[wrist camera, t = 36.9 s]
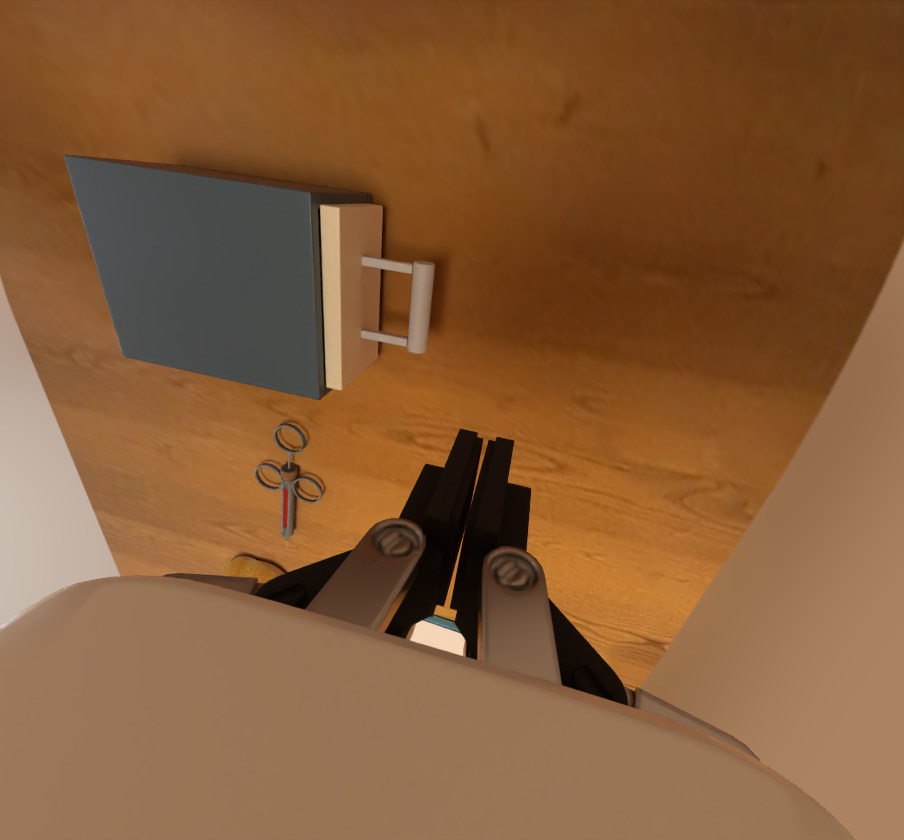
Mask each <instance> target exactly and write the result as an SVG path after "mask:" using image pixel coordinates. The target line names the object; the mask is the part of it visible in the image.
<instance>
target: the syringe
mask: <svg viewBox="0 0 904 840" xmlns="http://www.w3.org/2000/svg"><path fill="white" fill-rule="evenodd" d="M281 427H288V428H291V429H293V430H294V431H295V432H297V433H298V435H299V436H300V437H301V439H302V442H303V445H302V449H301V450H297V451H295V450H290V449H288V448H286V447H285V446H284V445H282V444H281V442H280V441H279V439H278V435H277V431H278V429H279V428H281ZM273 435H274V440H275V442H276V444H277V446H278V447H279V448H280V449H282V450H283V451H285V452H287V453H288V464H284V465H283V466H282V467H281V470H280V469H279V468H277V467H276V466H274V465H272V464H269V463H263V464H261V465H259V466H258V467H257V468H256V469H255V471H254V473H255V478H256V479H257V481H258V483H259V484H260V485H262V486H263V487H264V488H266V489H269V490H273V491H275V490H279V489H280V488H281V487H282V514H281V535H282V536H283V537H285V538H286V540H287V541H288V539H289V537H290V536H292V535H293V530H294V505H295V495H296V496H297V497H298V498H299V499H300V500H302V501H304V502H306V503H311V504H312V503H317V502H318V501H319V500H320V499H321V497H322V495H323V490H322V487H321V486H320V485H319V483H318V482H317V481H315V480H314V479H312V478H310V477H307V476H301V477H299V478H297V474H298V471H297V466H296V465H294V464H290V454H298V453H300V452H301V451H302V450H303V449H304V448H305V446H306V442H307V441H306V438H305V435H304V434H303V433H302V431H301V430H300V429H299V428H297V427H296V426H294V425H292V424H287V423H286V424H281V425H280V426H278V427H277V428H276V429H275V431H274V433H273ZM260 467H269V468H271V469H273V470H274V471H275V472H277V474H278V475H279V476H280V478H281V486H280V487H273V486H270V485H268V484H266V483H265V482H263V481H262V480H261V478H260V476H259V473H258V470H259V468H260ZM299 480H307V481H309V482H311V483H313V484H314V485H315V486H316V488H317V489H318V491H319V493H320V496H319V498H318V499H316V500H311V499H307V498H305V497H303V496H302V495H301V494H299V492H298V490H297V489H296V482H297V481H299Z"/></svg>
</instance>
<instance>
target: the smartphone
mask: <svg viewBox="0 0 904 840" xmlns="http://www.w3.org/2000/svg"><path fill="white" fill-rule="evenodd" d="M410 641H414V642H417V643H420V644H424V645H427V646H431V647H434V648H437V649H441V650H444V651H448V652H451V653H454V654H458V655H461V656H463V647H464V643H465V639H464V637H463V636H462V634H461V633H460V631H459V630H458V628H457V627H456V625H455V622H452V621H449V620H446V619H443V618H440V617H437V616H434V615H433V617H428V618H426V619H424V620H422V621H420V622H418V623H416V626H415V629H414V632H413V635H412V637H411V639H410Z"/></svg>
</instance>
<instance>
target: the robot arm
mask: <svg viewBox="0 0 904 840" xmlns="http://www.w3.org/2000/svg"><path fill="white" fill-rule="evenodd" d="M477 434H478V432H473V431H469V430H464V429H460V430H459V433H458V435H457V438H456V440H455V442H454V445H453V447H452V450H451V452H450V455H449V457H448V460H447V462H446V464H445V467H444V468H443V467H439V466H434V465H430V464H425V466H424V467H423V470H422V472H421V474H420V476H419V478H418V480H417V482H416V484H415V486H414V488H413V490H412V492H411V494H410V496H409V498H408V500H407V502H406V504H405V507H404V509H403V511H402V513H401V515H400V517H399V518H391V519H386V520H383V521H380V522H378V523H376V524H375V525H374V526H373V527H372V528H370V529H369V531H368V532H367V533H366V534H365V536H364V537H363V538H362V539H361V541H360V542H359V543H358V544H357V546H356V547H355V548H354V549H353V550H350V551H347V552H344V553H341V554H339V555H336V556H333V557H330V558H327V559H325V560H322V561H319V562H316V563H313V564H310V565H308V566H305V567H302V568H299V569H296V570H294V571H291V572H288V573H285V574H282V575H280V576H277V577H275V578H273V579H271V580H269V581H268V582H266V583H259V582H258V578H250V577H234V576H217V575H200V574H183V573H176V574H166V575H163V576H143V575H134V576H120V577H108V578H101V579H95V580H90V581H85V582H81V583H77V584H74V585H71V586H68V587H65V588H63V589H60V590H58V591H56V592H54V593H52V594H50V595H48V596H46V597H45V598H43V599H41V600H39V601H37V602H36V603H34V604H32V605H31V606H29V607H28V608H26V609H25V610H23V611H22V612H20V613H18V614H17V615H15V616H14V617H13V618H11V619H10V620H8V621H7V622H5V623H4V624H2V625H1V626H0V840H855V839H854V838H853V836H852V835H851V834H850V833H849V832H848V831H847V830H846V829H845V828H844V827H843V825H842V824H841V823H839V821H838V820H837V819H836V818H835V817H834V816H832V814H831V813H829V812H828V811H827V810H826V809H825V808H823V806H821V805H820V804H819V803H818V802H817V801H815V800H814V799H813V798H812V797H811V796H809V795H808V794H807V793H805V792H804V791H803V790H801V789H800V788H799V787H798V786H796V785H795V784H793V783H792V782H790V781H789V780H788V779H786V778H785V777H783V776H782V775H780V774H778V773H777V772H776V771H774V770H773V769H771V768H770V767H768V766H767V765H765V764H764V763H762V762H761V761H760V760H759V758H758V757H757V756H756V755H755V754H754V753H753V752H752V751H751V750H750V749H749V748H748V747H747V746H746V745H745V744H743V743H742V742H740V741H739V740H737V739H736V738H734V737H733V736H731V735H729V734H727V733H726V732H724V731H722V730H720V729H718V728H716V727H714V726H712V725H709V724H708V723H706V722H704V721H702V720H700V719H698V718H696V717H694V716H692V715H691V714H689V713H687V712H685V711H683V710H680V709H679V708H677V707H675V706H673V705H671V704H669V703H667V702H665V701H663V700H661V699H659V698H657V697H656V696H654V695H651V694H650V693H648V692H646V691H644V690H642V689H640V688H638V687H637V688H636V689H635V691H633V690H631V689H629V688H627V687H625V686H623V684H622V682H621V680H620V679H619V678H618V676H617V675H616V673H615V672H614V671H613V670H612V668H611V667H610V666H609V665H608V664H607V663H606V662H605V661H604V660H603V658H602V657H601V656H600V655H599V654H598V653H597V652H596V651H595V649H594V648H593V647H592V646H591V645H590V644H589V643H588V642H587V640H586V639H585V638H584V637H583V636H582V635H581V634H580V633H579V631H578V630H577V629H576V628H575V627H574V626H573V625H572V624H571V623H570V621H569V620H568V619H567V618H566V617H565V616H564V615H563V614H562V612H561V611H560V610H559V609H558V608H557V607H556V606H555V605H554V603H553V602H552V601H551V600H550V599H549V598H548V594H547V587H546V581H545V575H544V572H543V569H542V566H541V565H540V563H539V562H538V561H537V559H536V558H534V557H533V556H532V555H531V554H530V553H528V552H526V550H527V537H528V524H529V511H530V499H531V488H528V487H524V486H520V485H515V484H511V483H507V482H508V476H509V470H510V464H511V458H512V452H513V446H514V440H509V439H505V438H500V437H497V438H496V441H492V440H489V441H488V445H487V448H486V452H485V456H484V460H483V463H482V467H481V471H480V474H479V478H478V482H477V485H476V489H475V493H474V496H473V491H474V486H475V481H476V475H477V470H478V465H479V460H480V455H481V449H482V444H483V438H479V437H477ZM472 496H473V500H472ZM471 502H472V504H471ZM470 507H471V508H470ZM464 530H465V532H464ZM463 534H464V537H463ZM462 538H463V542H462V547H461V553H460V558H459V563H458V568H457V574H456V579H455V584H454V589H453V595H452V600H451V605H450V609H454V610H457V614H456V619H455V625H456V627H457V628H458V630H459V631H460V633H461V634H462V636H463V637H464V639H465V643H464V647H463V656H461V655H458V654H454V653H451V652H448V651H444V650H441V649H437V648H434V647H431V646H427V645H424V644H420V643H417V642H414V641H410V639H411V637H412V635H413V632H414V629H415V626H416V623H418V622H420V621H422V620H424V619H426V618H428V617H433V615H434V611H435V608H436V605H440V606H443V607H444V604H445V600H446V597H447V593H448V589H449V586H450V582H451V578H452V575H453V571H454V567H455V564H456V560H457V556H458V552H459V549H460V545H461V541H462Z"/></svg>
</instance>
